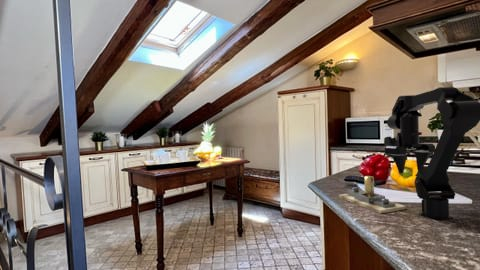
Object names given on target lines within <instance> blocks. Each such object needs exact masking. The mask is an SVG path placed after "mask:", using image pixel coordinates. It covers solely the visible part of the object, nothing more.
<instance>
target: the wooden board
mask: <svg viewBox="0 0 480 270" xmlns="http://www.w3.org/2000/svg"><path fill="white" fill-rule="evenodd" d="M338 198H340V199H342V200H345V201H348V202H351V203H352V204H356V205H358V206H361V207H363V208H365V209H368V210H370V211H373V212H376V213H379V214H384V213H385V214H386V213H391V212H397V211H401V210H402V211H403V210H407V206H406V205H403V204H400V203H396V202H394V201H390V200H389V201H390V202H393V203H395V206H393V207H387V208H383V207H380V206H377V205H374V204H367V203H365V202H362V201H359V200H356V199H355V198H354V197H352V196H349V195H347V193H342V194H338Z"/></svg>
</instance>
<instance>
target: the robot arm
mask: <svg viewBox="0 0 480 270" xmlns="http://www.w3.org/2000/svg"><path fill="white" fill-rule="evenodd" d="M448 101H450V102H448ZM433 104H436V105H437V106H436V109H437V111H438V112H439V113H440V114H441V117H440V120H441V123H442V125H443V130H442V132H441V135H440V136H439V139H438V142H437V144H436V145H435V144H433V143H429V142H427V143H426V142H425V143H424V142H420V136H422V133H423V132H422V131H420V130H419V129H420V128H419V127H420V126H419V124H420V123H419V122H420V121H419V117H423V116H422V113H421V112H419V111H420V110H422V109H423V108H424V106H428V105H429V106H430V105H433ZM391 109H392V110H391V116H389V117H388V119H387V121H386V124H387V126H388V128H389V129H390V130H391V129H392V130H399V132H397V134H396V136H395V137H392V136H386V137H384V138H383V145H384V146H385V147H384V148H383V149H384V154H386V155H387V156H389V157H390V158H392V159H393V162H394V163H395V167H396V168H397V171H398V173H399V174H400V175H401V174H404V170H405V166H406V162H407V156H408V155H407V154H406V153H407V152H412V153H413V155H414V156H415V161H416V169H417V172H416V173H415V175H414V177H415V179H414V182H413V183H414V187H415V191H416V195H417V197H418V198H419V199H421V212H419V214H418V215H419V216H421V217H424V218H427V219H430V220H433V221H436V222H441V221H447V220H451V219H453V216H452V215H450V204H449V201H450V200H455V197H456V192H455V190H454V189H453V187H452V186H451V184H450V183H449V182H450V178H449V175H448V169H449V168H450V166H451V163H452V162H453V159H454V157H455V156H456V153H457V152H458V149H459V147H460V145H461V142H462V140H463V139H464V136H465V135H466V134H467V133H468V132H469V131H471V130H472V129H474V128H476V126H477V125H478V124H479V123H480V101H478V100H476V99H475V98H474V97H473V96H471V95H468V94H466V93H465V92H461V90H459V89H458V88H457V87H454V86H440V87H436V88H435V89H433V90H428V91H425V92H421V93H418V94H409V95H408V94H406V95H399V96H398V97H397V99H396V101H395V103H394V106H393V108H391ZM431 155H432V156H431ZM429 158H430V160H429V163H428V164H427V165H426V163H427V161H428V159H429Z"/></svg>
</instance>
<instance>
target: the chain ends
mask: <svg viewBox="0 0 480 270" xmlns="http://www.w3.org/2000/svg"><path fill="white" fill-rule="evenodd" d="M346 194H347V195H349V196H352V197H354V198H355V199H356V200H359V201H362V202H365V203H367V204H374V205H377V206H380V207H383V208H387V207H393V206H395V203H396V202H394V201H391V202H390V199H389V198H386V195H383V194H379V193H377V192H374V196H373V197H367V196H365V190H363V189H360V188H359V187H358V186H353V187H352V188H351V189H347V190H346ZM393 202H394V203H393Z"/></svg>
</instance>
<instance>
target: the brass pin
mask: <svg viewBox="0 0 480 270" xmlns="http://www.w3.org/2000/svg"><path fill="white" fill-rule="evenodd" d="M363 177H364V191H365V196H367V197H373V196H374V193H375V180H374V179H375V177H374V176H371V175H365V176H363Z"/></svg>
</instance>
